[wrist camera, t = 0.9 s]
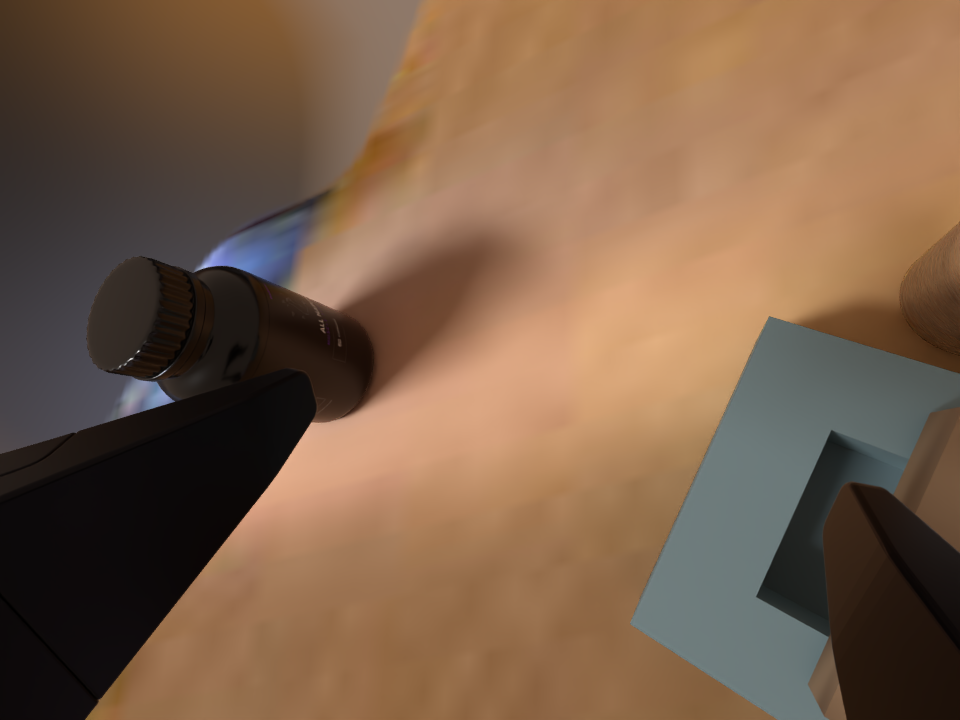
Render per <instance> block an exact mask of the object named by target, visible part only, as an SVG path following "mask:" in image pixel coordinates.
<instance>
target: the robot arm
mask: <svg viewBox="0 0 960 720" xmlns="http://www.w3.org/2000/svg"><path fill="white" fill-rule="evenodd" d="M316 412H317V402H316V398H315V394H314V391H313V387H312V383H311V380H310V377H309V375H308V374H307V373H306V372H305V371H302V370H297V369H292V368H285V369H281V370H278V371H275V372H271V373H268V374H265V375H261V376H258V377H255V378H252V379H248V380H245V381H242V382H238V383H235V384H232V385H229V386H225V387H222V388H219V389H215V390H212V391H209V392H205V393H202V394H199V395H196V396H192V397H189V398H186V399H182V400H179V401H176V402H173V403H169V404H166V405H163V406H159V407H156V408H153V409H149V410H146V411H143V412H140V413H136V414H133V415H130V416H126V417H123V418H120V419H117V420H113V421H110V422H107V423H103V424H100V425H97V426H94V427H91V428H87V429H84V430H80V431H78V432H77V433H70V434H67V435H64V436H60V437H57V438H54V439H50V440H47V441H44V442H40V443H37V444H33V445H30V446H27V447H23V448H20V449H16V450H13V451H10V452H6V453H2V454H0V720H85V719H86V718H87V716H88V715H89V714H90V713H91V711H92V710H93V709H94V708H95V706H96V705H97V704H98V702H99V699H101V698H102V697H103V695H104V694H105V693H106V692H107V690H108V689H109V688H110V687H111V685H112V684H113V683H114V681H115V680H116V679H117V678H118V676H119V675H120V674H121V673H122V671H123V670H124V669H125V668H126V666H127V665H128V664H129V662H130V661H131V660H132V659H133V657H134V656H135V655H136V654H137V652H138V651H139V650H140V649H141V647H142V646H143V645H144V643H145V642H146V641H147V640H148V638H149V637H150V636H151V635H152V633H153V632H154V631H155V630H156V628H157V627H158V626H159V624H160V623H161V622H162V621H163V619H164V618H165V617H166V616H167V614H168V613H169V612H170V610H171V609H172V608H173V607H174V605H175V604H176V603H177V602H178V600H179V599H180V598H181V597H182V595H183V594H184V593H185V591H186V590H187V589H188V588H189V586H190V585H191V584H192V583H193V581H194V580H195V579H196V578H197V576H198V575H199V574H200V572H201V571H202V570H203V569H204V567H205V566H206V565H207V564H208V562H209V561H210V560H211V559H212V557H213V556H214V555H215V553H216V552H217V551H218V550H219V548H220V547H221V546H222V545H223V543H224V542H225V541H226V540H227V538H228V537H229V536H230V534H231V533H232V532H233V531H234V529H235V528H236V527H237V526H238V524H239V523H240V522H241V521H242V519H243V518H244V517H245V515H246V514H247V513H248V512H249V510H250V509H251V508H252V507H253V505H254V504H255V503H256V501H257V500H258V499H259V498H260V496H261V495H262V494H263V493H264V491H265V490H266V489H267V488H268V486H269V485H270V484H271V482H272V481H273V480H274V478H275V477H276V475H277V474H278V472H279V471H280V470H281V468H282V467H283V465H284V464H285V462H286V460H287V459H288V457H289V456H290V454H291V453H292V451H293V450H294V448H295V447H296V445H297V443H298V442H299V440H300V439H301V437H302V436H303V434H304V433H305V431H306V430H307V428H308V427H309V425H310V423H311V422H312V420H313V419H314V417H315V415H316ZM822 538H823V552H824V564H825V576H826V588H827V600H828V612H829V624H830V634H831V643H832V650H833V656H834V661H835V667H836V672H837V677H838V681H839V686H840V691H841V695H842V700H843V705H844V710H845V714H846V719H847V720H960V552H959V551H957V550H956V549H955V548H954V547H953V546H952V545H950V544H949V543H948V542H947V541H946V540H945V539H944V538H942V537H941V536H940V535H939V534H938V533H937V532H935V531H934V530H933V529H932V528H931V527H930V526H929V525H927V524H926V523H925V522H924V521H923V520H922V519H920V518H919V517H918V516H917V515H916V514H915V513H914V512H912V511H911V510H910V509H909V508H908V507H907V506H905V505H904V504H903V503H902V502H901V501H900V500H899V499H897V498H896V497H895V496H894V495H893V494H892V493H890V492H889V491H888V490H886V489H884V488H882V487H878V486H873V485H868V484H863V483H858V482H854V481H850V482H847V483H845V484H844V485H843V486H842V487H841V489H840V491H839V493H838V495H837V497H836V499H835V501H834V504H833V506H832V508H831V510H830V512H829V514H828V516H827V518H826V520H825V523H824V527H823V536H822Z"/></svg>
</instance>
